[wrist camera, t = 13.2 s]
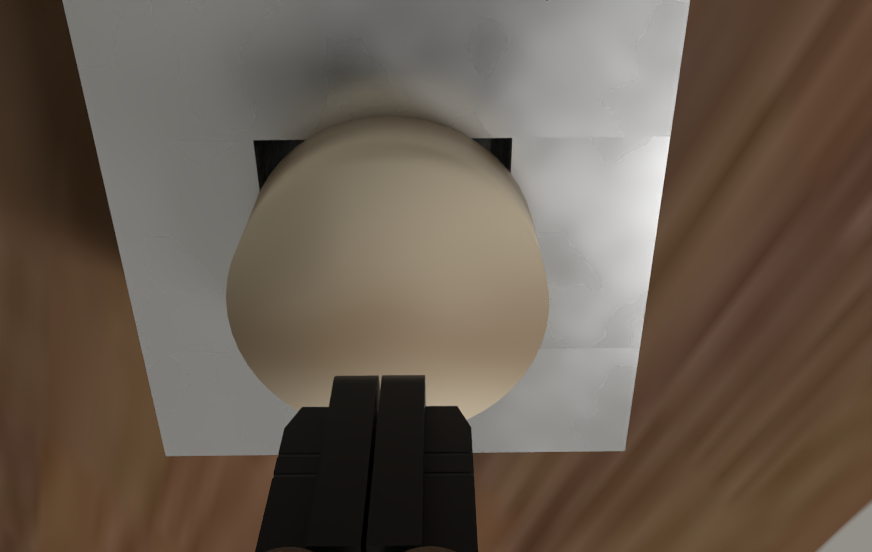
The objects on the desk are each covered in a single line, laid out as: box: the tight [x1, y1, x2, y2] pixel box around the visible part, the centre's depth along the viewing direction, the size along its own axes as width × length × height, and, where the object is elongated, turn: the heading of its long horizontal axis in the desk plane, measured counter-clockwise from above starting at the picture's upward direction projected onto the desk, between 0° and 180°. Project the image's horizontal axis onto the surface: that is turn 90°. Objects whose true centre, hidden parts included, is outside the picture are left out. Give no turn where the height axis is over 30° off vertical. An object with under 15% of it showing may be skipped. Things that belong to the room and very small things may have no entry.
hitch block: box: [62, 0, 690, 456], centre depth 22 cm, size 18×14×7 cm
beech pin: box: [226, 116, 549, 420], centre depth 20 cm, size 6×6×8 cm
